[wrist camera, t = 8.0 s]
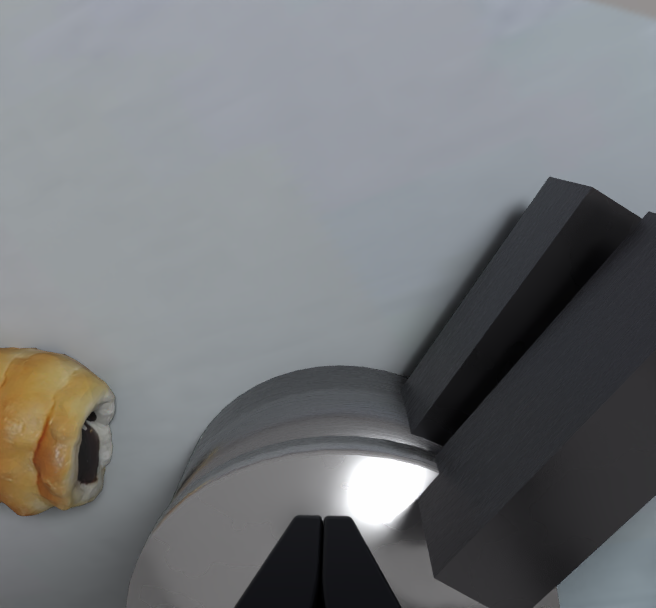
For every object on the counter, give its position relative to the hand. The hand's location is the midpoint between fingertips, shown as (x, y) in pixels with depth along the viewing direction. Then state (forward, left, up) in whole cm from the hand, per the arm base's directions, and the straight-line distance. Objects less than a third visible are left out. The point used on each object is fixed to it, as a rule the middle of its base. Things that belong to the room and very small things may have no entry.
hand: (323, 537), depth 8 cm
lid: (-6, +4, -7) cm, 10 cm away
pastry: (+8, +12, -13) cm, 19 cm away
